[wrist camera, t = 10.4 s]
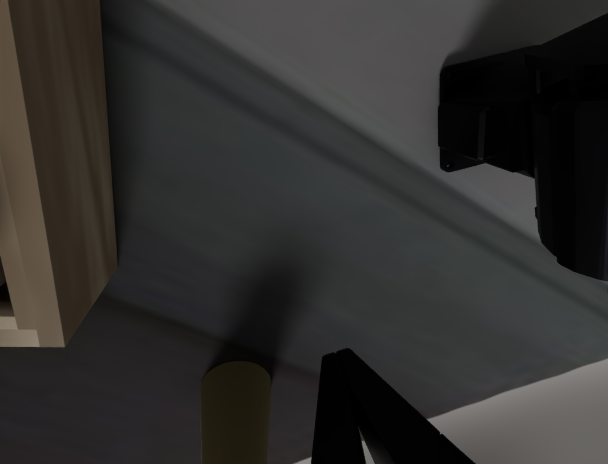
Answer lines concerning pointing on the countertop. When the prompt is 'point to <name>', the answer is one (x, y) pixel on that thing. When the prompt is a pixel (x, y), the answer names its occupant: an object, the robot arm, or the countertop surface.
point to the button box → (53, 170)
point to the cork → (235, 414)
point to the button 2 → (2, 274)
